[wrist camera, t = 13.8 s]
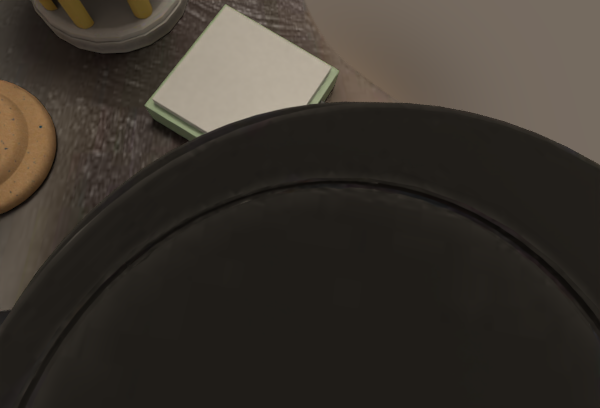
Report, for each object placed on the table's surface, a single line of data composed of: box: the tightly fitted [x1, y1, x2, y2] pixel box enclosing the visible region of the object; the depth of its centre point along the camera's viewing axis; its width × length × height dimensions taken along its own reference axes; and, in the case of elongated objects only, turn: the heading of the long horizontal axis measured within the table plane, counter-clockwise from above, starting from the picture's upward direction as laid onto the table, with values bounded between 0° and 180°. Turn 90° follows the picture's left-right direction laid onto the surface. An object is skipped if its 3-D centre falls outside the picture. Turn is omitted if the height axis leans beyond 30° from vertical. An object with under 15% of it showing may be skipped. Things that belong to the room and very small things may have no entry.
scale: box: [145, 4, 339, 141], centre depth 32 cm, size 12×12×3 cm
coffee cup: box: [0, 102, 600, 408], centre depth 10 cm, size 9×9×15 cm
